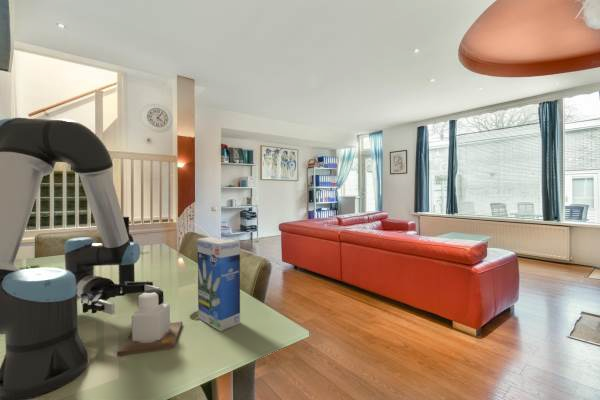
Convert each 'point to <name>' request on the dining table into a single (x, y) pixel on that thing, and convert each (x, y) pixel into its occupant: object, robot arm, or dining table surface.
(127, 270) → the wine bottle
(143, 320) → the medicine bottle
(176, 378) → the dining table surface
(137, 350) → the plate
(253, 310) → the dining table surface
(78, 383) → the dining table surface
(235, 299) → the string lights box
